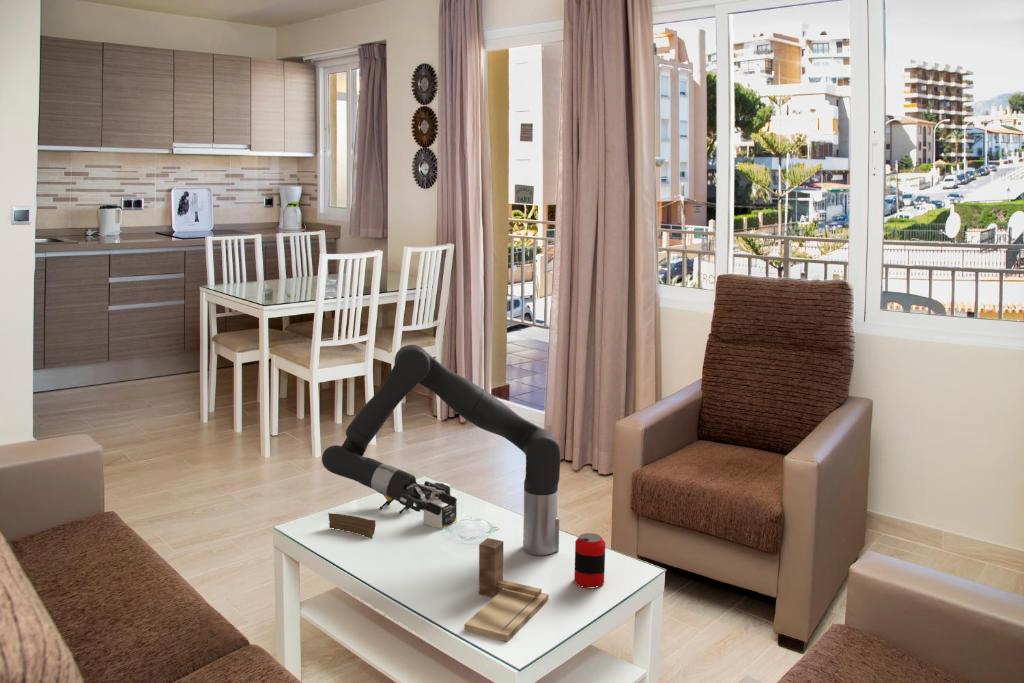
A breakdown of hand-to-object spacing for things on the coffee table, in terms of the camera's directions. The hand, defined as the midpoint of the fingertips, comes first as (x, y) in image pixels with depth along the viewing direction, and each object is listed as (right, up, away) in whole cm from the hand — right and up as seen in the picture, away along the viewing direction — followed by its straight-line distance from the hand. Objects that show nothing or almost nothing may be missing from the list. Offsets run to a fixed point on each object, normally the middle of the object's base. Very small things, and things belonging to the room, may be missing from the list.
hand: (448, 507), depth 220 cm
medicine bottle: (-5, -13, +41) cm, 43 cm away
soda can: (+36, -20, +4) cm, 41 cm away
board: (+15, -23, -13) cm, 30 cm away
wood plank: (-30, -14, +33) cm, 47 cm away
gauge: (+16, -21, -4) cm, 27 cm away
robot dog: (-21, -10, +52) cm, 57 cm away
